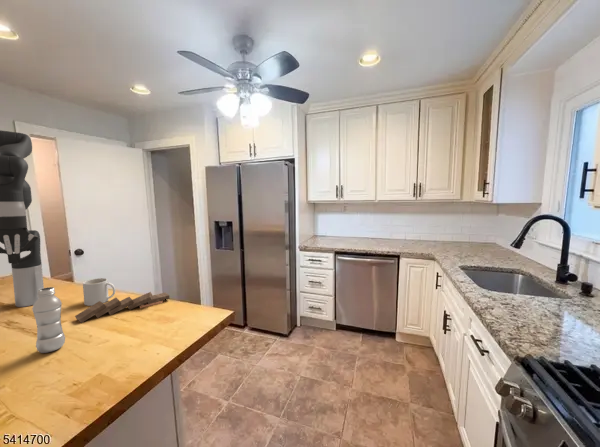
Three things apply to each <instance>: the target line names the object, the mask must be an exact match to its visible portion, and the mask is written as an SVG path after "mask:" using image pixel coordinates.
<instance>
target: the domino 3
mask: <svg viewBox="0 0 600 447" xmlns="http://www.w3.org/2000/svg"><path fill="white" fill-rule="evenodd" d="M119 301H120V302H121V304H120V305H118V306H117V307H115V308H113V309H112V310H110V311H108V312H107V313H108V315H110V316H112V315H114V314H116V313H117V312H119V311H121V310H124V309H125V308H128V306H129V305H131V304H133V303H134V302H133V298H131V297H130V296H128V297H126V298H123V299H121V300H119Z"/></svg>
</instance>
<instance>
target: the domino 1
mask: <svg viewBox="0 0 600 447" xmlns="http://www.w3.org/2000/svg"><path fill="white" fill-rule="evenodd" d="M105 308H106V306H105V303H102V302H100V301H99V302H97V303H96V304H94V305H92V306H89V307H88V308H86V309H84V310H83V311H81V312H79V313H77V314H76V315H75V316H74V317H75V319H76V321H78V322H79V323H81V324H82V323H84V322H86V321H87V320H89V319H91V318H92V317H93V316H94V317H95V316H96V315H95V314H97V313H98V312H100V311H101V310H103V309H105Z"/></svg>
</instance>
